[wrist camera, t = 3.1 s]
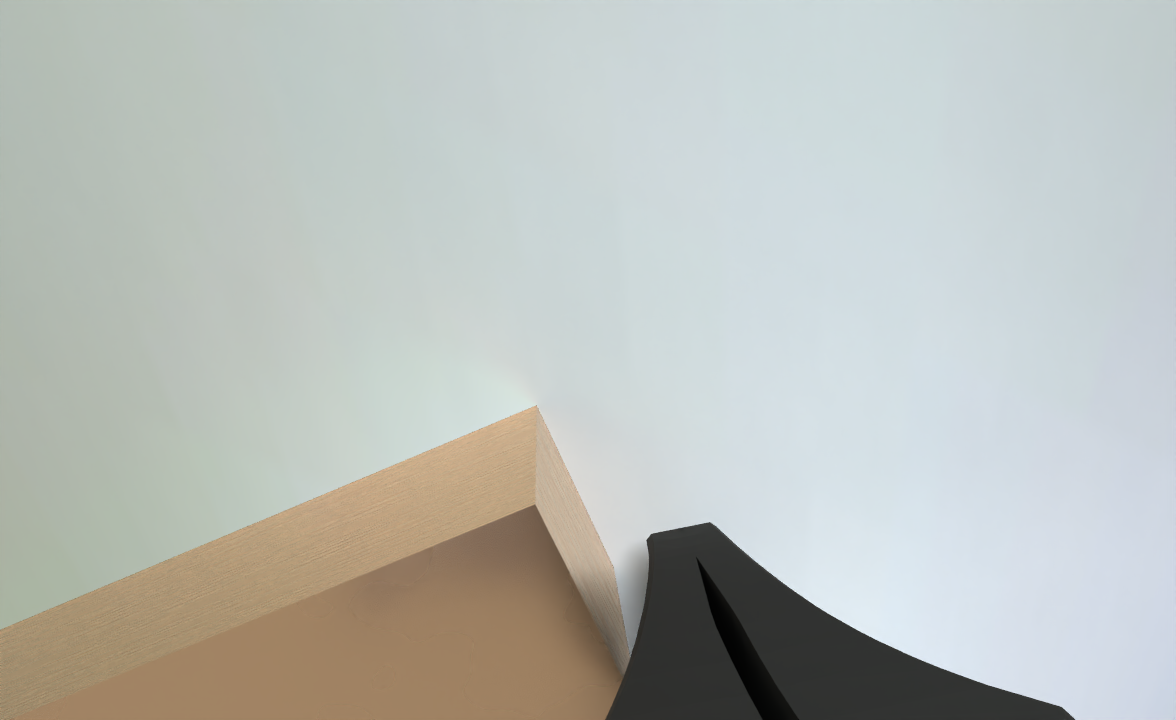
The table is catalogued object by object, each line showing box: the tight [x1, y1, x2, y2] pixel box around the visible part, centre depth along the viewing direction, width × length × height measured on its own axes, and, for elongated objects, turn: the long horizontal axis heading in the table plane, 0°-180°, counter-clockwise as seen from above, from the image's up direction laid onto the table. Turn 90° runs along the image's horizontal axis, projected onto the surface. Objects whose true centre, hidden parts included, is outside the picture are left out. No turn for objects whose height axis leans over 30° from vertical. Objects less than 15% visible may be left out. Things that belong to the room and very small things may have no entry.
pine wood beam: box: [0, 405, 630, 720], centre depth 12 cm, size 4×14×4 cm, turn 113°
